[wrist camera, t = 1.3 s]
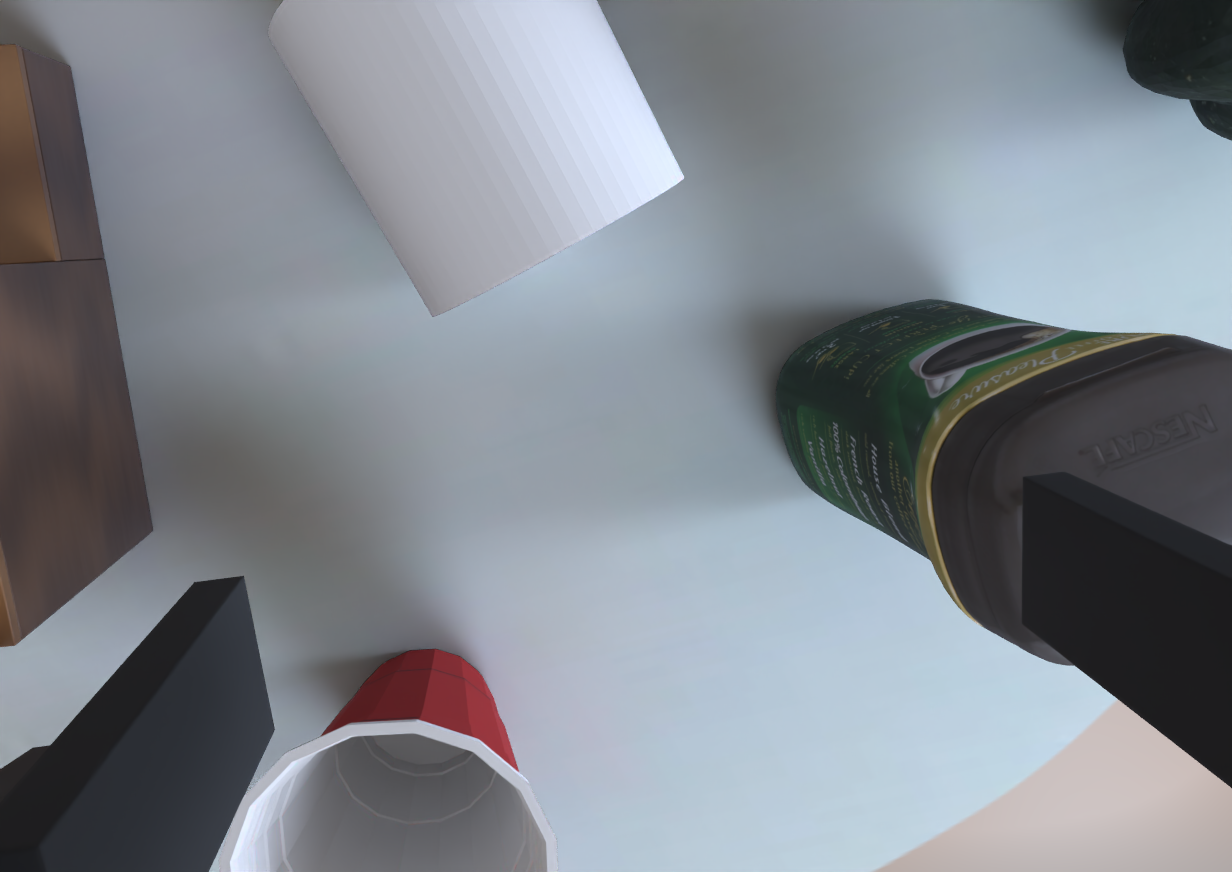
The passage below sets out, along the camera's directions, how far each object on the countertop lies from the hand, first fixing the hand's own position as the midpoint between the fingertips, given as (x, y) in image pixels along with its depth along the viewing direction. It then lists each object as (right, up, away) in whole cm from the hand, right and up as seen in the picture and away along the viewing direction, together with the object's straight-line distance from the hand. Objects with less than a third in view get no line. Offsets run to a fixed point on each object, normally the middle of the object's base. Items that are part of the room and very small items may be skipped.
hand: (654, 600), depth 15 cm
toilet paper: (-6, +15, +21) cm, 26 cm away
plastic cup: (-9, -9, +26) cm, 29 cm away
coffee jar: (+11, +4, +25) cm, 28 cm away
